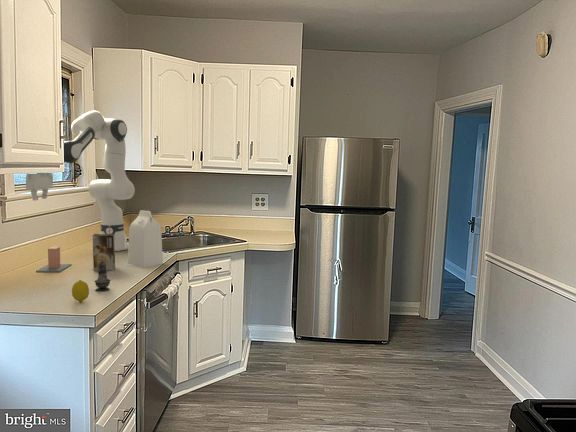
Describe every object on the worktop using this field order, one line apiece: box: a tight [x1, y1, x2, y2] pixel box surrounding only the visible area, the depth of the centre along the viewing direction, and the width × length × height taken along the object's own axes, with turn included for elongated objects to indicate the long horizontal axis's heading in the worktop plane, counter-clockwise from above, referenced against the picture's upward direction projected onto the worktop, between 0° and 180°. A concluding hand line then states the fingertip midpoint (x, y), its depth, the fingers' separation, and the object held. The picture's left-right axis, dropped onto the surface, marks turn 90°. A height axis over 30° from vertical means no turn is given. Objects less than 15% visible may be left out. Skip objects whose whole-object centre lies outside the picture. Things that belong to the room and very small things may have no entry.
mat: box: [35, 263, 72, 273], centre depth 209 cm, size 14×10×1 cm
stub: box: [47, 246, 61, 268], centre depth 209 cm, size 4×4×9 cm
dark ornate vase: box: [94, 260, 112, 293], centre depth 178 cm, size 6×6×12 cm
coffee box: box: [92, 233, 116, 272], centre depth 211 cm, size 9×6×16 cm
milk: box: [127, 209, 164, 268], centre depth 224 cm, size 12×12×26 cm
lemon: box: [71, 279, 90, 303], centre depth 162 cm, size 6×6×8 cm
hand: (40, 199), depth 209 cm, fingers open, 8 cm apart
